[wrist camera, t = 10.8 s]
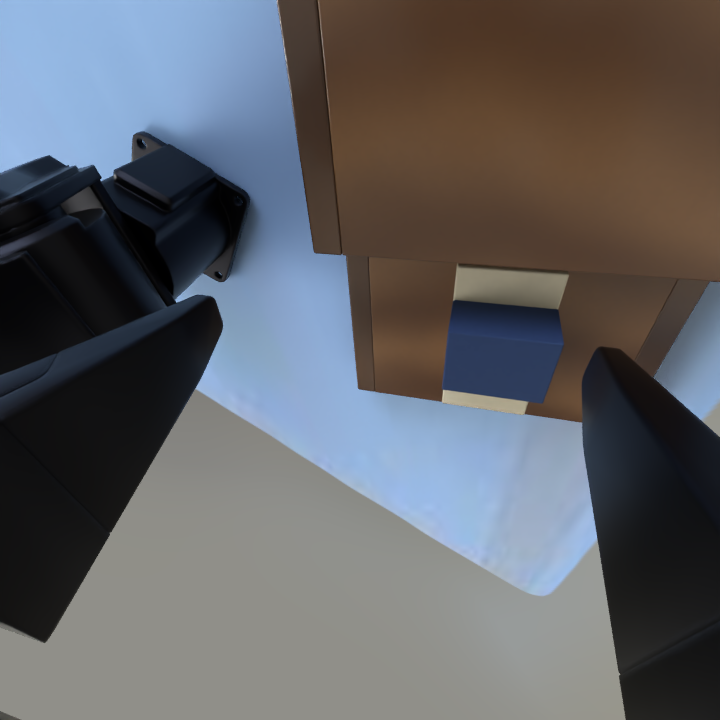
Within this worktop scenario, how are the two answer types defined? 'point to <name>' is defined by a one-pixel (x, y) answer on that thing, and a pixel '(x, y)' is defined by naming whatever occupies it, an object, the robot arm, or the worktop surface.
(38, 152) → the worktop surface
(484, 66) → the brown wooden cabinet
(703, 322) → the worktop surface
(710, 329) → the worktop surface
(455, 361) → the blue sleeved eraser
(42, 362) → the robot arm
